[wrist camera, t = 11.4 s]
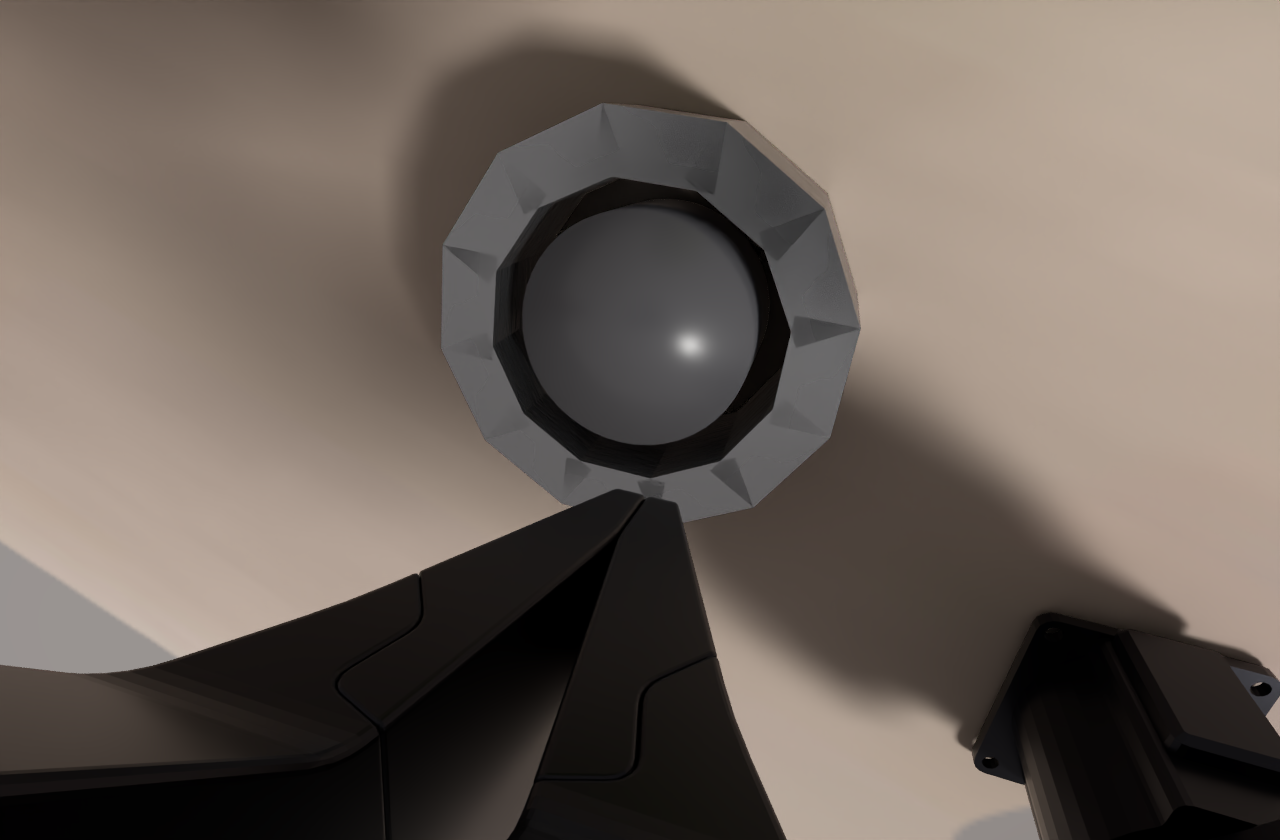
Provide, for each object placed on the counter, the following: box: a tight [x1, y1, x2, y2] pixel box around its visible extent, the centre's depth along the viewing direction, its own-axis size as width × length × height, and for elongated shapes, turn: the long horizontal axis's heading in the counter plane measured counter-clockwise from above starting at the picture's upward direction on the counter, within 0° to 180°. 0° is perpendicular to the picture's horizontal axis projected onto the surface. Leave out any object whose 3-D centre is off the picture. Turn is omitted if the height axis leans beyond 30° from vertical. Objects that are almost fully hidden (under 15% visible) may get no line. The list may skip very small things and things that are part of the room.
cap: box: [522, 198, 770, 445], centre depth 19 cm, size 6×6×4 cm
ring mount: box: [441, 103, 861, 523], centre depth 19 cm, size 10×10×4 cm
